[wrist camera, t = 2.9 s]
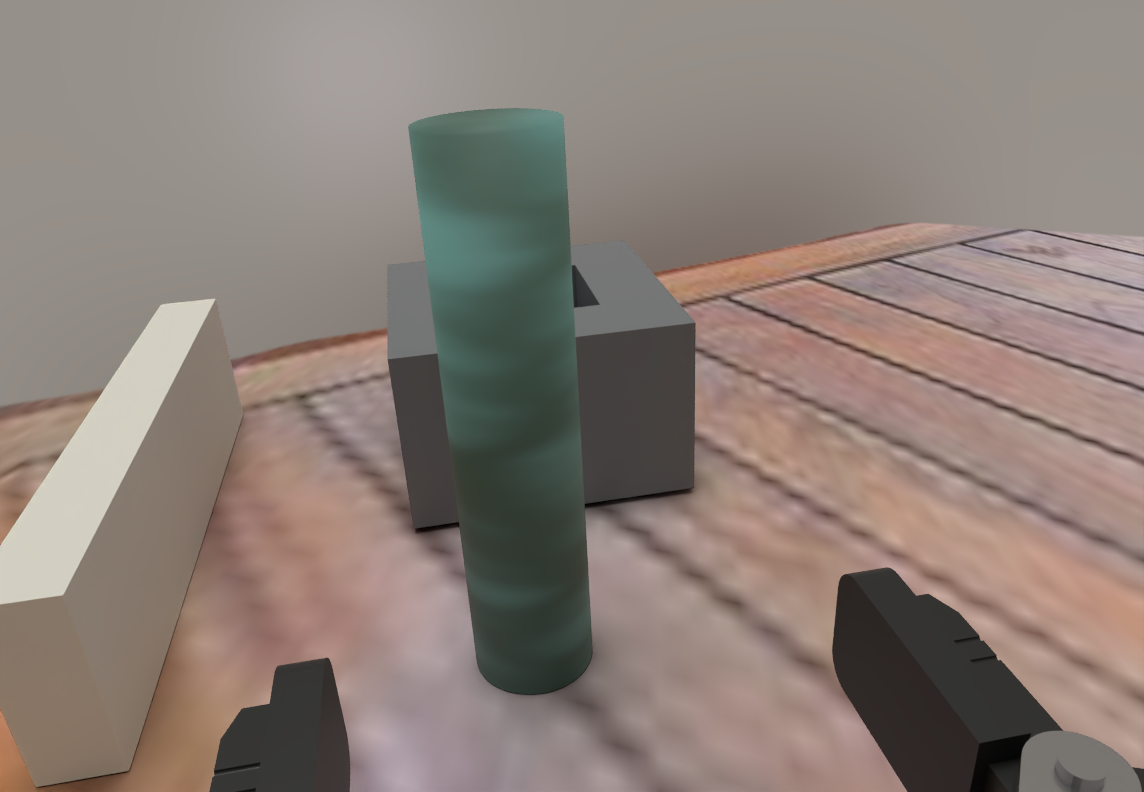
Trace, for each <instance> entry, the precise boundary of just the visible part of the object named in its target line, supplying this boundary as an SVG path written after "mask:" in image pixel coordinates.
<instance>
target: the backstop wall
mask: <svg viewBox="0 0 1144 792" xmlns="http://www.w3.org/2000/svg"><path fill="white" fill-rule="evenodd" d="M242 417H243V411H242V407H241V402H240V398H239V394H238V390H237V386H236V382H235V377H234V373H233V369H232V365H231V361H230V356H229V353H228V348H227V344H226V340H225V336H224V331H223V328H222V323H221V320H220V315H219V310H218V306H217V302H216V299H208V300H199V301H189V302H180V303H170V304H162V305H161V306H160V307H159V309H158V310H157V311H156V313H155V315H154V316H153V317H152V319H151V321H150V322H149V324H148V325H147V326H146V328H145V330H144V331H143V332H142V334H141V335H140V337H139V338H138V340H137V341H136V343H135V345H134V346H133V347H132V349H131V350H130V352H129V354H128V355H127V356H126V358H125V359H124V361H123V363H122V364H121V366H120V367H119V369H118V370H117V371H116V373H115V375H114V376H113V378H112V379H111V380H110V382H109V384H108V385H107V386H106V388H105V389H104V391H103V392H102V394H101V395H100V397H99V398H98V400H97V401H96V403H95V404H94V406H93V407H92V409H91V410H90V412H89V413H88V415H87V416H86V418H85V419H84V421H83V422H82V424H81V425H80V427H79V428H78V430H77V431H76V433H75V434H74V436H73V437H72V439H71V440H70V442H69V443H68V445H67V446H66V448H65V449H64V451H63V452H62V454H61V455H60V457H59V458H58V460H57V461H56V463H55V464H54V466H53V467H52V469H51V470H50V472H49V473H48V475H47V476H46V478H45V479H44V481H43V482H42V484H41V485H40V487H39V488H38V490H37V491H36V493H35V494H34V496H33V497H32V499H31V500H30V502H29V503H28V505H27V506H26V508H25V509H24V511H23V512H22V514H21V515H20V517H19V518H18V520H17V521H16V523H15V524H14V526H13V527H12V529H11V530H10V532H9V533H8V535H7V536H6V538H5V539H4V541H3V542H2V544H1V545H0V709H1V711H2V713H3V716H4V718H5V720H6V722H7V724H8V727H9V729H10V731H11V733H12V736H13V738H14V740H15V742H16V745H17V747H18V749H19V751H20V754H21V756H22V758H23V760H24V763H25V765H26V767H27V769H28V772H29V774H30V776H31V778H32V781H33V783H34V785H35V787H40V786H45V785H51V784H57V783H63V782H68V781H74V780H80V779H85V778H91V777H97V776H102V775H108V774H114V773H119V772H125V771H129V770H130V767H131V763H132V760H133V757H134V754H135V751H136V748H137V745H138V742H139V738H140V735H141V732H142V729H143V726H144V723H145V720H146V717H147V713H148V710H149V707H150V704H151V701H152V698H153V695H154V692H155V689H156V685H157V682H158V679H159V676H160V673H161V670H162V667H163V664H164V660H165V657H166V654H167V651H168V648H169V645H170V642H171V639H172V635H173V632H174V629H175V626H176V623H177V620H178V617H179V614H180V610H181V607H182V604H183V601H184V598H185V595H186V592H187V589H188V585H189V582H190V579H191V576H192V573H193V570H194V567H195V564H196V561H197V557H198V554H199V551H200V548H201V545H202V542H203V539H204V536H205V532H206V529H207V526H208V523H209V520H210V517H211V514H212V511H213V507H214V504H215V501H216V498H217V495H218V492H219V489H220V486H221V482H222V479H223V476H224V473H225V470H226V467H227V464H228V461H229V457H230V454H231V451H232V448H233V445H234V442H235V439H236V436H237V433H238V429H239V426H240V423H241V420H242Z"/></svg>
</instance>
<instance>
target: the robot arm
mask: <svg viewBox="0 0 1144 792" xmlns="http://www.w3.org/2000/svg"><path fill="white" fill-rule="evenodd" d="M832 652H833V662H834V667H835V671H836V674H837V677H838V680H839V682H840V684H841V686H842V688H843V690H844V692H845V693H846V695H847V696H848V698H849V700H850V701H851V703H852V704H853V706H854V708H855V709H856V711H857V712H858V714H859V715H860V717H861V719H862V720H863V722H864V723H865V725H866V727H867V728H868V730H869V731H870V733H871V735H872V736H873V738H874V739H875V741H876V742H877V744H878V746H879V747H880V749H881V750H882V752H883V754H884V755H885V757H886V758H887V760H888V761H889V763H890V765H891V766H892V768H893V769H894V771H895V773H896V774H897V776H898V777H899V779H900V781H901V782H902V784H903V785H904V787H905V788H906V790H907V792H1144V769H1141V768H1133V767H1131V766H1130V764H1129V763H1128V762H1127V761H1126V760H1125V759H1124V758H1123V757H1122V756H1121V755H1119V754H1118V753H1117V752H1116V751H1114V750H1113V749H1111V748H1110V747H1108V746H1107V745H1105V744H1103V743H1101V742H1099V741H1097V740H1095V739H1093V738H1090V737H1088V736H1085V735H1082V734H1078V733H1073V732H1067V731H1063V730H1062V729H1061V728H1060V726H1059V725H1058V724H1057V723H1056V722H1055V721H1054V720H1053V719H1052V717H1051V716H1050V715H1049V714H1048V713H1047V712H1046V711H1045V710H1044V708H1043V707H1042V706H1041V705H1040V704H1039V703H1038V702H1037V700H1036V699H1035V698H1034V697H1033V696H1032V695H1031V694H1030V693H1029V691H1028V690H1027V689H1026V688H1025V687H1024V686H1023V685H1022V684H1021V682H1020V681H1019V680H1018V679H1017V678H1016V677H1015V676H1014V674H1013V673H1012V672H1011V671H1010V670H1009V669H1008V668H1007V667H1006V665H1005V664H1004V663H1003V662H1002V661H1001V660H999V661H998V660H997V657H996V654H995V653H994V652H993V651H992V650H991V648H990V647H989V646H988V645H987V644H986V643H985V642H984V641H981V640H980V638H979V635H978V634H977V633H976V632H975V630H974V629H973V628H972V627H971V626H970V625H969V624H968V622H967V621H966V620H965V619H964V618H963V617H962V616H961V615H960V613H959V612H957V611H955V610H954V609H952V608H951V607H949V606H947V605H946V604H944V603H942V602H941V601H939V600H938V599H936V598H934V597H933V596H931V595H929V594H924V595H918V596H916V595H915V594H914V593H913V592H912V591H911V589H910V588H909V587H908V586H907V585H906V583H905V582H904V581H903V580H902V579H901V577H900V576H899V575H898V574H897V573H896V572H895V571H894V570H893V569H891V568H881V569H875V570H869V571H862V572H856V573H850V574H845V575H843V576H842V577H841V579H840V581H839V586H838V595H837V605H836V616H835V626H834V637H833V649H832ZM210 792H350V756H349V745H348V738H347V732H346V728H345V723H344V719H343V714H342V710H341V705H340V701H339V696H338V692H337V687H336V683H335V678H334V673H333V669H332V665H331V662H330V660H329V658H323V659H317V660H311V661H305V662H299V663H293V664H286V665H280V666H277V668H276V670H275V674H274V680H273V686H272V692H271V699H270V704H266V705H261V706H255V707H249V708H243V709H241V711H240V712H239V714H238V715H237V716H236V718H235V719H234V721H233V722H232V724H231V725H230V727H229V728H228V729H227V731H226V732H225V734H224V735H223V737H222V738H221V741H220V745H219V750H218V755H217V759H216V764H215V769H214V777H213V778H212V782H211V787H210Z"/></svg>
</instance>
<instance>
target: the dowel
mask: <svg viewBox="0 0 1144 792" xmlns="http://www.w3.org/2000/svg"><path fill="white" fill-rule="evenodd" d="M563 118H564V117H563V115H562V114H560V113H558V112H554V111H549V110H541V109H519V108H518V109H517V108H516V109H515V108H514V109H487V110H474V111H465V112H456V113H449V114H443V115H438V116H433V117H429V118H425V119H421V120H418V121H416V122H414V123H412V124H410V125H409V136H410V144H411V152H412V160H413V167H414V175H415V182H416V191H417V198H418V206H419V214H420V222H421V229H422V237H423V245H424V253H425V261H426V269H427V277H428V284H429V292H430V300H431V308H432V315H433V323H434V331H435V339H436V347H437V354H438V362H439V370H440V378H441V386H442V393H443V401H444V409H445V417H446V425H447V432H448V440H449V448H450V456H451V464H452V471H453V479H454V487H455V495H456V503H457V510H458V518H459V526H460V534H461V542H462V549H463V557H464V565H465V573H466V581H467V588H468V596H469V604H470V612H471V620H472V627H473V635H474V643H475V651H476V659H477V664H478V668H479V670H480V672H481V673H482V675H483V676H484V677H485V678H486V680H487V681H489V682H490V683H491V684H493V685H494V686H496V687H498V688H500V689H502V690H505V691H508V692H512V693H517V694H541V693H546V692H551V691H554V690H557V689H560V688H562V687H564V686H566V685H568V684H570V683H571V682H573V681H574V680H576V679H577V678H578V677H579V676H580V675H581V674H582V673H583V672H584V671H585V670H586V668H587V667H588V665H589V663H590V660H591V657H592V633H591V614H590V596H589V577H588V559H587V541H586V522H585V504H584V485H583V467H582V449H581V430H580V412H579V393H578V375H577V357H576V338H575V320H574V301H573V283H572V264H571V246H570V228H569V210H568V191H567V175H566V174H567V172H566V154H565V136H564V119H563Z"/></svg>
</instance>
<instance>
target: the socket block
mask: <svg viewBox="0 0 1144 792" xmlns="http://www.w3.org/2000/svg"><path fill="white" fill-rule="evenodd" d="M571 264H572V283H573V301H574V320H575V338H576V357H577V375H578V393H579V412H580V430H581V449H582V467H583V485H584V504H586V503H593V502H600V501H606V500H613V499H620V498H627V497H634V496H641V495H648V494H654V493H661V492H668V491H675V490H682V489H689V488H694V427H695V322H694V320H693V319H692V318H691V317H690V316H689V315H688V313H687V312H686V311H685V310H684V309H683V308H682V307H681V305H680V304H679V303H678V302H677V301H676V300H675V298H674V297H673V296H672V295H671V294H670V293H669V291H668V290H667V289H666V288H665V287H664V286H663V285H662V283H661V282H660V281H659V280H658V279H657V278H656V276H655V275H654V274H653V273H652V272H651V271H650V270H649V269H648V267H647V266H646V265H645V264H644V263H643V261H642V260H641V259H640V258H639V257H638V256H637V254H636V253H635V252H634V251H633V250H632V249H631V248H630V246H629V245H628V244H627V243H626V242H625V241H624V240H623V241H612V242H604V243H594V244H584V245H574V246H571ZM388 364H389V371H390V377H391V384H392V390H393V396H394V403H395V409H396V416H397V422H398V429H399V435H400V442H401V448H402V455H403V461H404V467H405V474H406V480H407V487H408V493H409V500H410V506H411V513H412V519H413V526H414V528H421V527H428V526H435V525H442V524H449V523H456V522H459V518H458V510H457V503H456V495H455V487H454V479H453V471H452V464H451V456H450V448H449V440H448V432H447V425H446V417H445V409H444V401H443V393H442V386H441V378H440V370H439V362H438V354H437V347H436V339H435V331H434V323H433V315H432V308H431V300H430V292H429V284H428V277H427V269H426V261H421V262H411V263H401V264H392V265H388Z"/></svg>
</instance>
